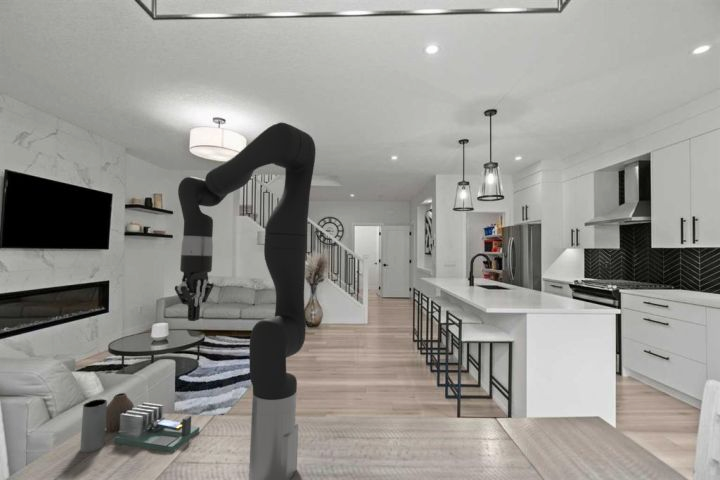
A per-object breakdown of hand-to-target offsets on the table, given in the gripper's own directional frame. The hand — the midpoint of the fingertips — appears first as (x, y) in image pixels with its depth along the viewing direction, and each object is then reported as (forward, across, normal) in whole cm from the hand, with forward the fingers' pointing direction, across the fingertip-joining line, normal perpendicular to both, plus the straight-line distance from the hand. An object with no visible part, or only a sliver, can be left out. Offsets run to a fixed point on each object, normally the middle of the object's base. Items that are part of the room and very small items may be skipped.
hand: (193, 320), depth 92 cm
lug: (+28, -2, -1) cm, 28 cm away
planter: (+29, -11, +17) cm, 36 cm away
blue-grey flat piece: (+27, -2, +4) cm, 27 cm away
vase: (+29, -2, +19) cm, 35 cm away
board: (+29, -3, +6) cm, 30 cm away
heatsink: (+28, -3, +10) cm, 30 cm away
